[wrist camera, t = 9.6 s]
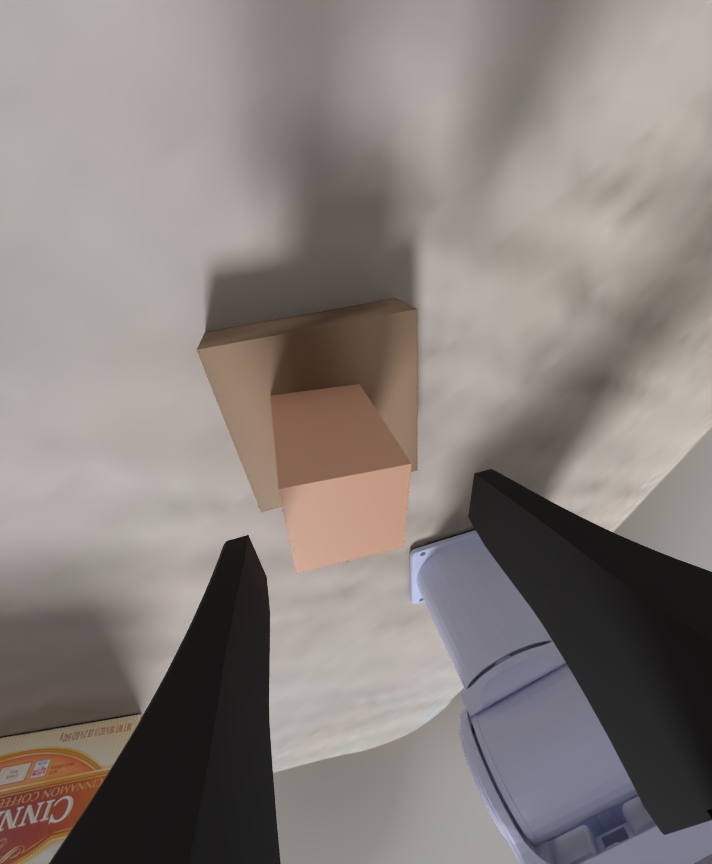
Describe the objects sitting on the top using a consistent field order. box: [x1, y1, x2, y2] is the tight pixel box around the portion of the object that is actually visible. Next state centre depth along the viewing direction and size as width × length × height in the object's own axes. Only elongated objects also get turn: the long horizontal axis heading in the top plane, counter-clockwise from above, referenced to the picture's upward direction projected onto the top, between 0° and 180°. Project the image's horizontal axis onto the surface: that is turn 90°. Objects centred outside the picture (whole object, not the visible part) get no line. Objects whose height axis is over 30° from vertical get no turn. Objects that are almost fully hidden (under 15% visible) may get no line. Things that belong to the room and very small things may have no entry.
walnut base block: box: [197, 298, 417, 512], centre depth 17 cm, size 9×9×3 cm
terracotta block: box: [270, 384, 412, 574], centre depth 13 cm, size 4×4×6 cm
